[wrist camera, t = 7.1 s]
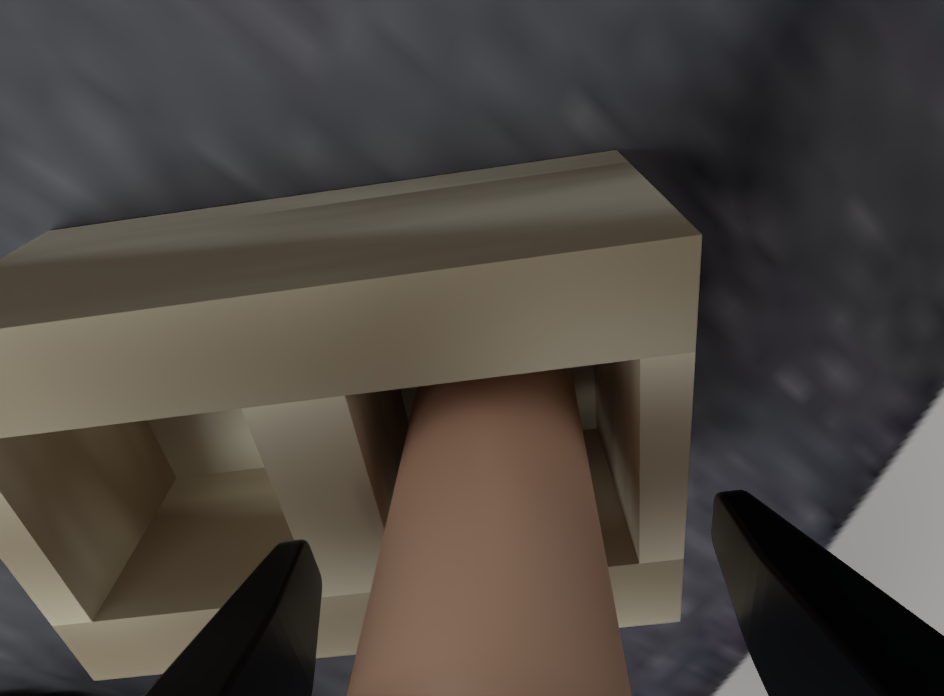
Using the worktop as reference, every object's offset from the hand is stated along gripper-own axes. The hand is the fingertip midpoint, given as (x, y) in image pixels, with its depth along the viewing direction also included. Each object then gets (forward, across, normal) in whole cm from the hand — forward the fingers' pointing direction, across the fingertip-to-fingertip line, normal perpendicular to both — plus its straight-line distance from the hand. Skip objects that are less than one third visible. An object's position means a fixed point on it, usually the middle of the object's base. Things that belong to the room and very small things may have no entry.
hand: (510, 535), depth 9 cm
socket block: (+6, +3, 0) cm, 7 cm away
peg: (+5, 0, 0) cm, 5 cm away
